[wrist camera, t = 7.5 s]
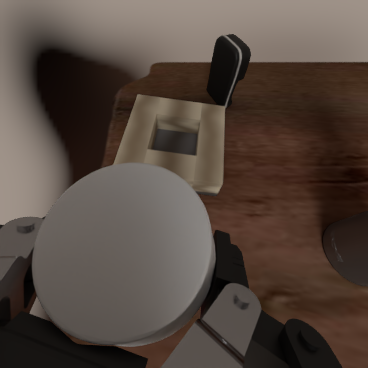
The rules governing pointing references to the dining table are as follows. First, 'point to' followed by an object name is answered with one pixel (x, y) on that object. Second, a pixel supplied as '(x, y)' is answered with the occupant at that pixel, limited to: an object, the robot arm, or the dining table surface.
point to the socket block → (177, 140)
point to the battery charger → (227, 68)
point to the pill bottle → (124, 256)
